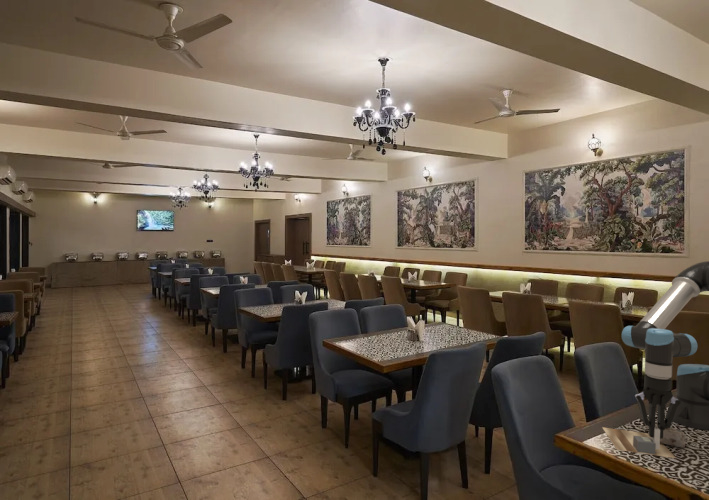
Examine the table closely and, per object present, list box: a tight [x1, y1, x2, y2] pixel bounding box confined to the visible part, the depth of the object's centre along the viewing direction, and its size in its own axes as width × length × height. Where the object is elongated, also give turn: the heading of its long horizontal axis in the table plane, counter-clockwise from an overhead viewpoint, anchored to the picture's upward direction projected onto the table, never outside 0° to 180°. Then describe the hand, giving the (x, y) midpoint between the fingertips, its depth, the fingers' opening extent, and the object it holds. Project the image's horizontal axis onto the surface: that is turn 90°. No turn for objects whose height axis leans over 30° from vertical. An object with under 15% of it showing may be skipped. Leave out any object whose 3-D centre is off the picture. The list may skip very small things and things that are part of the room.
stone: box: [655, 423, 687, 449], centre depth 157 cm, size 13×6×10 cm
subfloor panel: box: [601, 426, 677, 459], centre depth 155 cm, size 17×20×1 cm
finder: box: [633, 435, 656, 455], centre depth 148 cm, size 5×5×4 cm
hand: (655, 447), depth 147 cm, fingers closed
